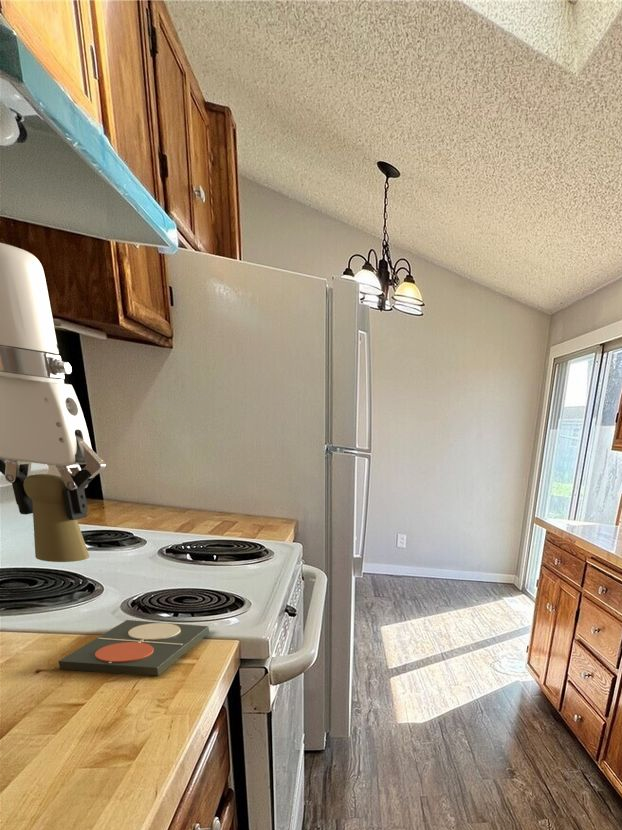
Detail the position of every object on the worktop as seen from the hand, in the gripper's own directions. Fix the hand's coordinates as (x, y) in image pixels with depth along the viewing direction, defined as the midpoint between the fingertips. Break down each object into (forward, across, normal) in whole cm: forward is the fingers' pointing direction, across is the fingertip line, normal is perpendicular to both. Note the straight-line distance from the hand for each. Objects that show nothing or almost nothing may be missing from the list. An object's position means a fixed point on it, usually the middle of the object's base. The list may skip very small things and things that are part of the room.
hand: (54, 514), depth 76 cm
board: (+17, -12, +6) cm, 21 cm away
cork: (+6, 0, 0) cm, 6 cm away
